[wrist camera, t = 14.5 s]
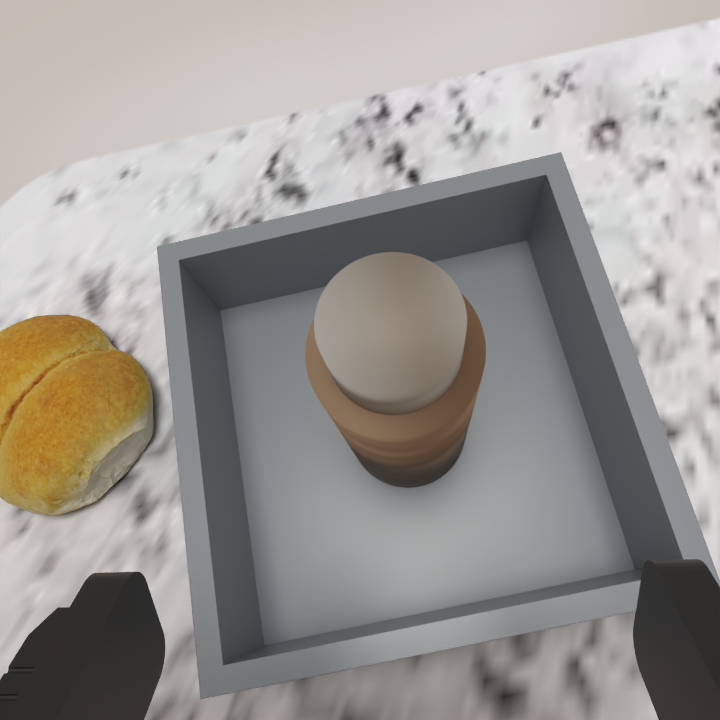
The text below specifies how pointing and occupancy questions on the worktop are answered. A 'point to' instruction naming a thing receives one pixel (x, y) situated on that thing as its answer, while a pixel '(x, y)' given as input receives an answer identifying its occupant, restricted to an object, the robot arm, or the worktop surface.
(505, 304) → the bin
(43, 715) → the robot arm
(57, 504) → the bread roll
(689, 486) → the worktop surface
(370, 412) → the pepper mill
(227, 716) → the worktop surface
